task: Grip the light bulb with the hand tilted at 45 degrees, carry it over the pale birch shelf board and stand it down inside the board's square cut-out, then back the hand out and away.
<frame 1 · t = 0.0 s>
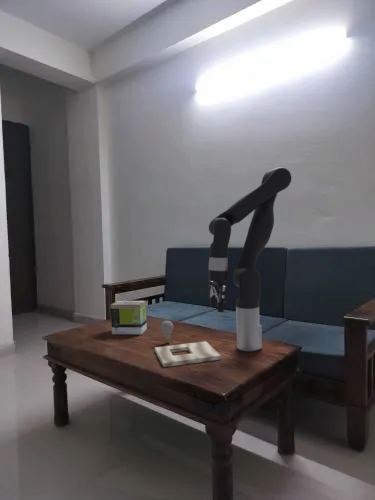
hand: (216, 309, 142), 17 cm above the table, tool pointing down, fingers open, 8 cm apart
tea box: (129, 332, 176), on the table
light bulb: (167, 343, 156), on the table
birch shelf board: (186, 355, 141), on the table
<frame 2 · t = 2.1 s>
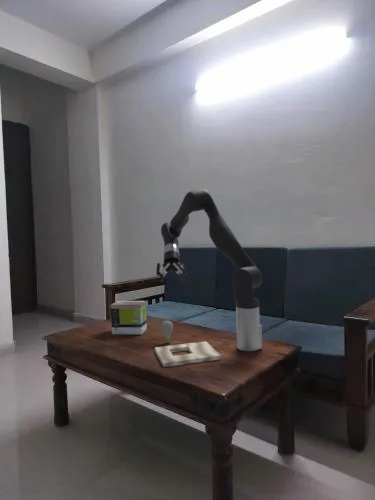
hand: (171, 281, 165), 25 cm above the table, tool tilted 45°, fingers open, 8 cm apart
nothing on the table moved.
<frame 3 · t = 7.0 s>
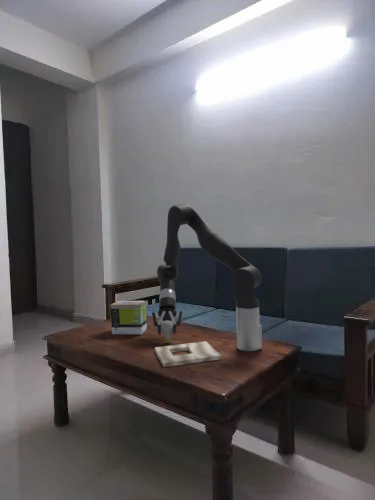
hand: (167, 333, 154), 5 cm above the table, tool tilted 45°, fingers closed on light bulb, 5 cm apart
light bulb: (167, 343, 156), on the table, touching gripper
everything else where it was.
when the fingers open (6 cm above the table, at t = 13.5 s): light bulb drops 1 cm, resting in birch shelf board.
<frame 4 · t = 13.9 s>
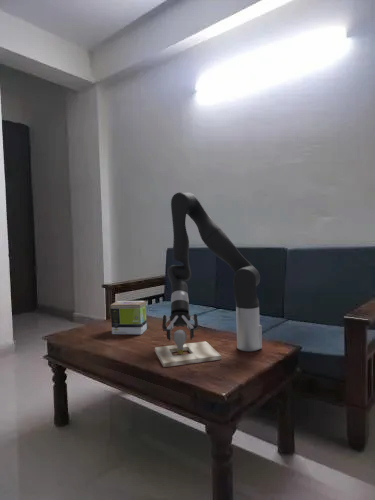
hand: (180, 339, 139), 7 cm above the table, tool tilted 45°, fingers open, 8 cm apart
light bulb: (180, 355, 141), resting in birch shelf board
everything else where it was.
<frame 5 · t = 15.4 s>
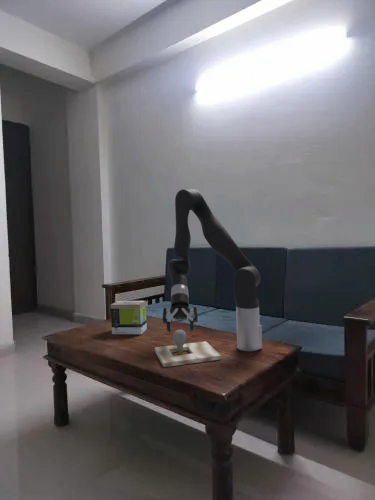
hand: (180, 331, 142), 9 cm above the table, tool tilted 45°, fingers open, 8 cm apart
nothing on the table moved.
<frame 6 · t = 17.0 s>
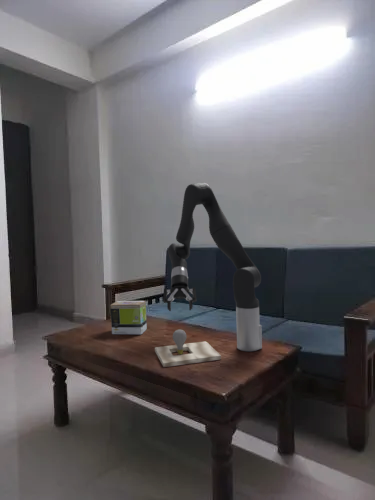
hand: (180, 309, 150), 16 cm above the table, tool tilted 45°, fingers open, 8 cm apart
nothing on the table moved.
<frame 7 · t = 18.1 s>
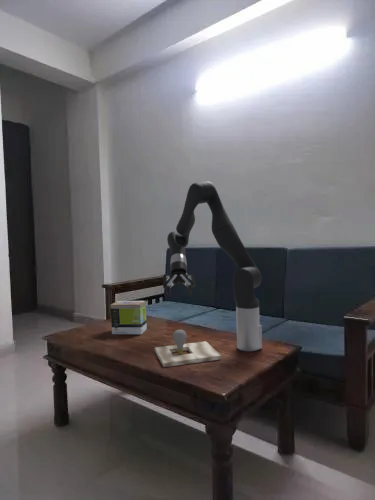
hand: (179, 294, 156), 21 cm above the table, tool tilted 45°, fingers open, 8 cm apart
nothing on the table moved.
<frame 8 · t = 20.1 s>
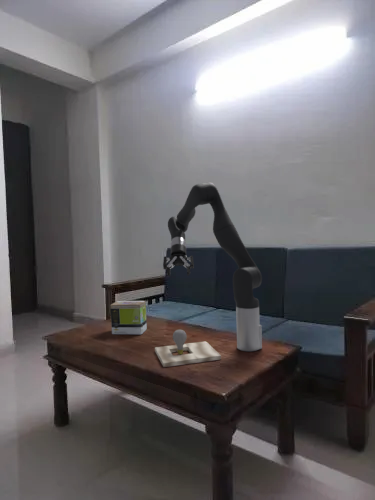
hand: (178, 275, 163), 29 cm above the table, tool tilted 45°, fingers open, 8 cm apart
nothing on the table moved.
at the end: light bulb 0.4 cm from the target spot on the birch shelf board, point 0.0 cm above the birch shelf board's base; light bulb tilted 0°; the gripper is holding nothing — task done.
